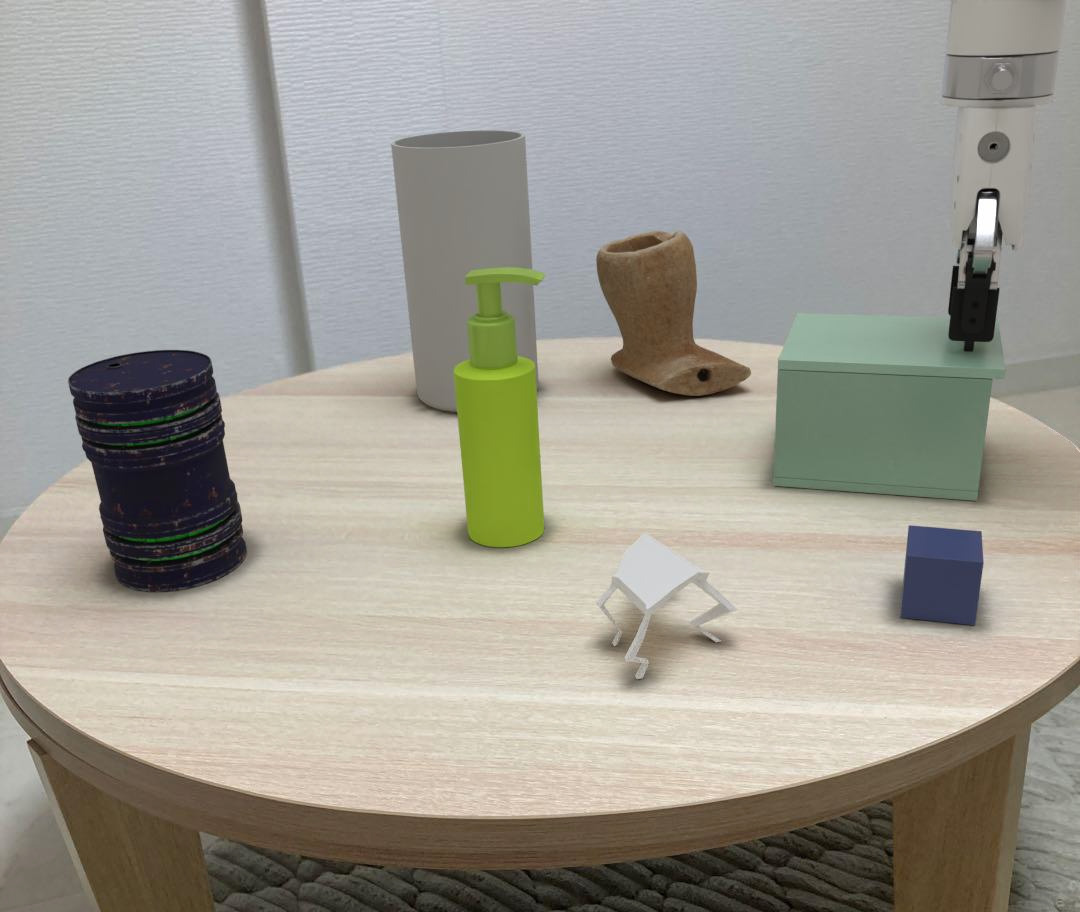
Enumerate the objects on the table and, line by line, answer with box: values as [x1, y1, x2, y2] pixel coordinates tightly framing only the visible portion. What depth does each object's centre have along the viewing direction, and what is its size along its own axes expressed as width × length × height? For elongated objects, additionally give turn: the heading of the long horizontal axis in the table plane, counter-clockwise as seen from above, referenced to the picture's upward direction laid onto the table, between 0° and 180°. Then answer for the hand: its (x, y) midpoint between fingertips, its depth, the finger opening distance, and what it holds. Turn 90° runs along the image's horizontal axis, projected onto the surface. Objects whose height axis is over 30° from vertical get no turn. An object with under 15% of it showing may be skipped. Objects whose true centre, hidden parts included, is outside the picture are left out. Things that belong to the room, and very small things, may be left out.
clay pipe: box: [595, 230, 752, 397], centre depth 114 cm, size 15×12×15 cm
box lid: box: [777, 273, 1007, 380], centre depth 90 cm, size 16×14×6 cm
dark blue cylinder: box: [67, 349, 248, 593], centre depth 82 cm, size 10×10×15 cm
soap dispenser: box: [454, 267, 547, 548], centre depth 83 cm, size 6×7×20 cm
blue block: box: [900, 524, 984, 626], centre depth 73 cm, size 4×4×4 cm
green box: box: [772, 368, 993, 502], centre depth 94 cm, size 16×14×10 cm
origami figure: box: [596, 531, 739, 680], centre depth 72 cm, size 12×8×5 cm
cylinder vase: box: [390, 129, 540, 413], centre depth 112 cm, size 12×12×25 cm
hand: (969, 325), depth 89 cm, fingers closed on box lid, 6 cm apart
